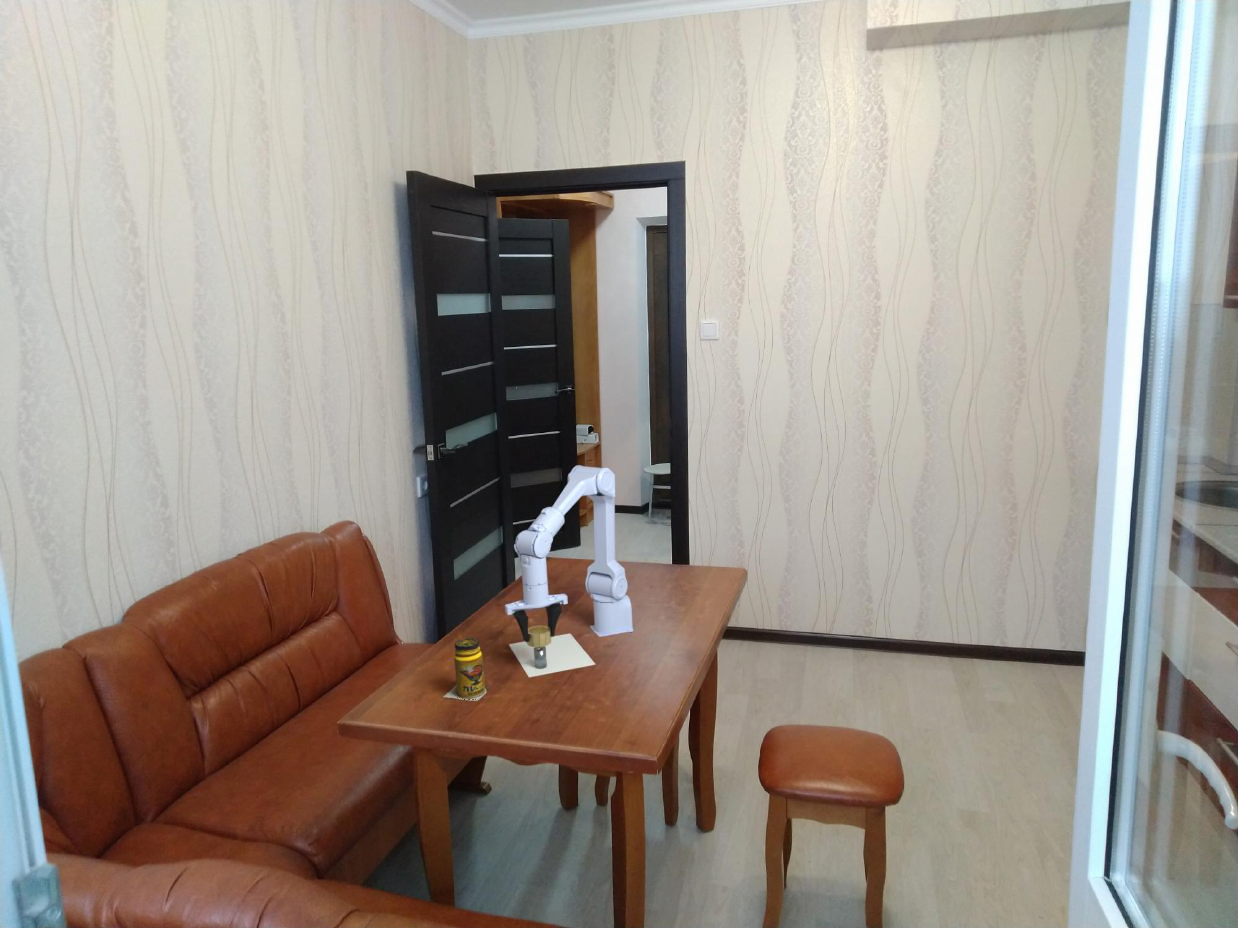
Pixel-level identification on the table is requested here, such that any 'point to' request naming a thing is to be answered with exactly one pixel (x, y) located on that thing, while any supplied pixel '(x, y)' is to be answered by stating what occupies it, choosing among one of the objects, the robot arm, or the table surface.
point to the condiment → (468, 671)
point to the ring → (539, 636)
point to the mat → (553, 656)
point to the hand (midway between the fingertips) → (538, 637)
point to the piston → (540, 657)
